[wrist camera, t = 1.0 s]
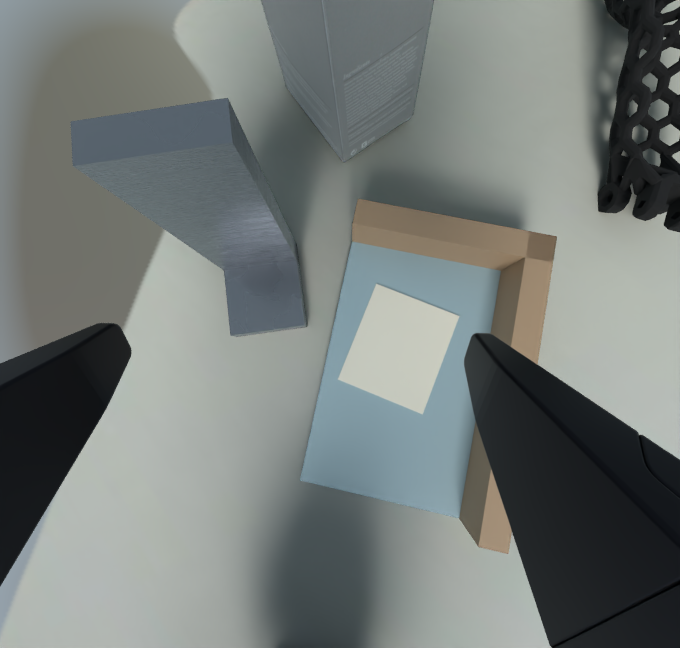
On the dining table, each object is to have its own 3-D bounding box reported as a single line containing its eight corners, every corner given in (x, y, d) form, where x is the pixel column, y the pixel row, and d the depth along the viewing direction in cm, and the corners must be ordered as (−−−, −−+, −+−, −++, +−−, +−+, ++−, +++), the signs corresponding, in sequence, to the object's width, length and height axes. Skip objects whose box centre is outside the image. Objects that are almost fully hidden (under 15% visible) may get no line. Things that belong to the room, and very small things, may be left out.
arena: (480, 519, 20) (508, 554, 17) (301, 476, 21) (291, 501, 17) (523, 255, 22) (556, 236, 19) (356, 223, 23) (358, 198, 19)
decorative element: (575, -29, 25) (645, -149, 19) (643, -31, 24) (734, -152, 19) (589, 248, 22) (672, 211, 17) (662, 249, 22) (773, 212, 16)
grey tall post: (307, 326, 22) (247, 284, 9) (236, 336, 22) (79, 309, 9) (296, 245, 23) (227, 98, 10) (228, 254, 23) (70, 121, 10)
